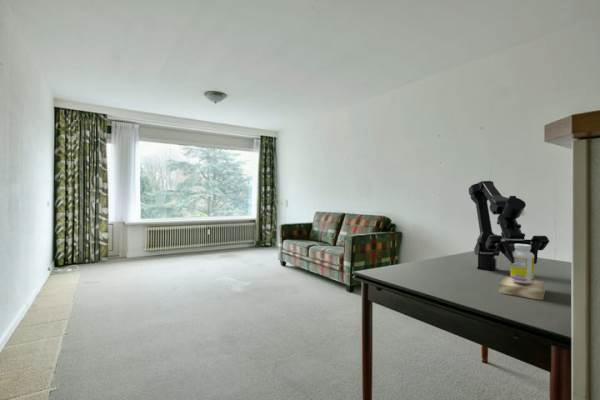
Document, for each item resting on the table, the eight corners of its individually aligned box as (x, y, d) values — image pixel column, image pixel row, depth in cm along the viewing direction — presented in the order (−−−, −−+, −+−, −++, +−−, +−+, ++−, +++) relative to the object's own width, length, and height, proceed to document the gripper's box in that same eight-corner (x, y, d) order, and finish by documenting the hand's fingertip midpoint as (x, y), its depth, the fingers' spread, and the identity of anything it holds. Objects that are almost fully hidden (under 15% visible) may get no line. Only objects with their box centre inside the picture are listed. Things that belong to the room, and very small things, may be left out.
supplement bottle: (524, 278, 113) (526, 242, 113) (538, 284, 107) (539, 246, 106) (505, 278, 113) (507, 242, 113) (518, 284, 107) (519, 246, 106)
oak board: (499, 292, 109) (499, 284, 109) (504, 284, 118) (504, 276, 118) (543, 300, 101) (543, 290, 101) (545, 290, 111) (545, 282, 110)
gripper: (529, 239, 123) (545, 275, 113) (477, 239, 126) (487, 274, 116) (541, 221, 115) (559, 258, 104) (484, 221, 118) (497, 257, 108)
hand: (524, 263), depth 108 cm, fingers closed on supplement bottle, 7 cm apart
